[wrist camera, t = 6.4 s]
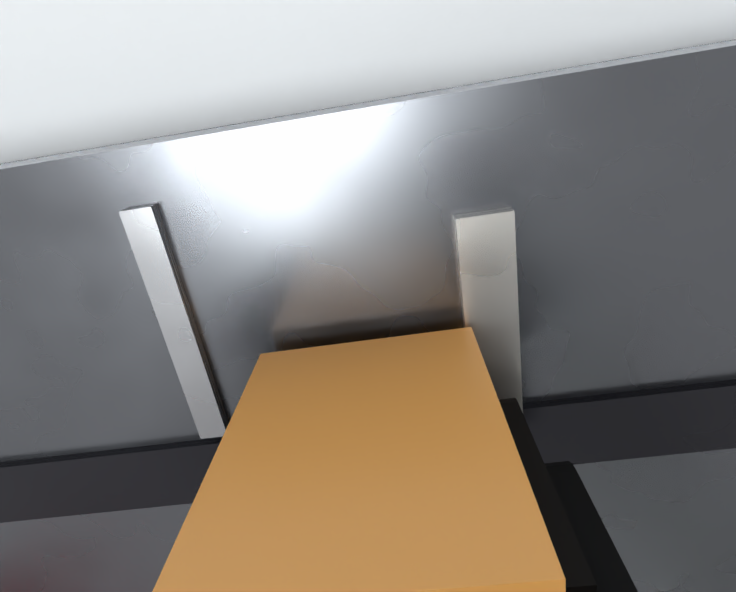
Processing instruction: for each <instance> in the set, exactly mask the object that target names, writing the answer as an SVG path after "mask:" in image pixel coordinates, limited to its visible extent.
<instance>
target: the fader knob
mask: <svg viewBox="0 0 736 592" xmlns="http://www.w3.org/2000/svg"><path fill="white" fill-rule="evenodd" d="M152 592H566V579H565V576H564V573H563V571H562V568H561V565H560V563H559V560H558V557H557V555H556V552H555V549H554V547H553V544H552V541H551V539H550V536H549V533H548V531H547V528H546V525H545V523H544V520H543V517H542V515H541V512H540V509H539V507H538V504H537V501H536V498H535V496H534V493H533V490H532V488H531V485H530V482H529V480H528V477H527V474H526V472H525V469H524V466H523V464H522V461H521V458H520V456H519V453H518V450H517V448H516V445H515V442H514V440H513V437H512V434H511V432H510V429H509V426H508V424H507V421H506V418H505V415H504V413H503V410H502V407H501V405H500V402H499V399H498V397H497V394H496V391H495V389H494V386H493V383H492V381H491V378H490V375H489V373H488V370H487V367H486V365H485V362H484V359H483V357H482V354H481V351H480V349H479V346H478V343H477V341H476V338H475V335H474V332H473V330H472V327H466V328H459V329H451V330H443V331H435V332H427V333H419V334H411V335H404V336H396V337H388V338H380V339H372V340H364V341H356V342H349V343H341V344H333V345H325V346H317V347H309V348H301V349H294V350H286V351H278V352H270V353H262V354H260V356H259V358H258V360H257V363H256V365H255V367H254V369H253V371H252V374H251V376H250V378H249V380H248V382H247V385H246V387H245V389H244V391H243V393H242V396H241V398H240V400H239V402H238V404H237V407H236V409H235V411H234V413H233V415H232V418H231V420H230V422H229V424H228V426H227V429H226V431H225V433H224V435H223V437H222V440H221V442H220V444H219V446H218V448H217V451H216V453H215V455H214V457H213V459H212V462H211V464H210V466H209V468H208V470H207V472H206V475H205V477H204V479H203V481H202V483H201V486H200V488H199V490H198V492H197V494H196V497H195V499H194V501H193V503H192V505H191V508H190V510H189V512H188V514H187V516H186V519H185V521H184V523H183V525H182V527H181V530H180V532H179V534H178V536H177V538H176V541H175V543H174V545H173V547H172V549H171V552H170V554H169V556H168V558H167V560H166V563H165V565H164V567H163V569H162V571H161V574H160V576H159V578H158V580H157V582H156V585H155V587H154V589H153V591H152Z"/></svg>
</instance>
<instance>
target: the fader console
mask: <svg viewBox="0 0 736 592" xmlns="http://www.w3.org/2000/svg"><path fill="white" fill-rule="evenodd" d="M466 327H472V330H473V332H474V335H475V338H476V341H477V343H478V346H479V349H480V351H481V354H482V357H483V359H484V362H485V365H486V367H487V370H488V373H489V375H490V378H491V381H492V383H493V386H494V389H495V391H496V394H497V397H498V399H507V398H516V399H517V401H518V403H519V406H520V408H521V410H522V413H523V415H524V417H525V420H526V422H527V424H528V427H529V429H530V431H531V433H532V436H533V438H534V440H535V443H536V445H537V447H538V450H539V452H540V454H541V457H542V459H543V461H544V463H553V462H563V461H570V462H571V463H572V464H573V465H574V467H575V469H576V470H577V472H578V474H579V476H580V478H581V480H582V482H583V484H584V486H585V488H586V490H587V492H588V494H589V496H590V498H591V500H592V502H593V504H594V506H595V508H596V510H597V512H598V514H599V516H600V518H601V520H602V522H603V524H604V526H605V527H606V529H607V531H608V533H609V535H610V537H611V539H612V541H613V543H614V545H615V547H616V549H617V551H618V553H619V555H620V557H621V559H622V561H623V563H624V565H625V567H626V569H627V571H628V573H629V575H630V577H631V579H632V581H633V583H634V585H635V587H636V589H637V591H638V592H736V39H735V40H729V41H723V42H717V43H711V44H705V45H699V46H693V47H688V48H682V49H676V50H670V51H664V52H658V53H652V54H646V55H640V56H634V57H629V58H623V59H617V60H611V61H605V62H599V63H593V64H587V65H581V66H576V67H570V68H564V69H558V70H552V71H546V72H540V73H534V74H528V75H522V76H517V77H511V78H505V79H499V80H493V81H487V82H481V83H475V84H469V85H463V86H458V87H452V88H446V89H440V90H434V91H428V92H422V93H416V94H410V95H404V96H399V97H393V98H387V99H381V100H375V101H369V102H363V103H357V104H351V105H345V106H340V107H334V108H328V109H322V110H316V111H310V112H304V113H298V114H292V115H287V116H281V117H275V118H269V119H263V120H257V121H251V122H245V123H239V124H233V125H228V126H222V127H216V128H210V129H204V130H198V131H192V132H186V133H180V134H174V135H169V136H163V137H157V138H151V139H145V140H139V141H133V142H127V143H121V144H115V145H110V146H104V147H98V148H92V149H86V150H80V151H74V152H68V153H62V154H57V155H51V156H45V157H39V158H33V159H27V160H21V161H15V162H9V163H3V164H0V592H152V591H153V589H154V587H155V585H156V582H157V580H158V578H159V576H160V574H161V571H162V569H163V567H164V565H165V563H166V560H167V558H168V556H169V554H170V552H171V549H172V547H173V545H174V543H175V541H176V538H177V536H178V534H179V532H180V530H181V527H182V525H183V523H184V521H185V519H186V516H187V514H188V512H189V510H190V508H191V505H192V503H193V501H194V499H195V497H196V494H197V492H198V490H199V488H200V486H201V483H202V481H203V479H204V477H205V475H206V472H207V470H208V468H209V466H210V464H211V462H212V459H213V457H214V455H215V453H216V451H217V448H218V446H219V444H220V442H221V440H222V437H223V435H224V433H225V431H226V429H227V426H228V424H229V422H230V420H231V418H232V415H233V413H234V411H235V409H236V407H237V404H238V402H239V400H240V398H241V396H242V393H243V391H244V389H245V387H246V385H247V382H248V380H249V378H250V376H251V374H252V371H253V369H254V367H255V365H256V363H257V360H258V358H259V356H260V354H262V353H270V352H278V351H286V350H294V349H301V348H309V347H317V346H325V345H333V344H341V343H349V342H356V341H364V340H372V339H380V338H388V337H396V336H404V335H411V334H419V333H427V332H435V331H443V330H451V329H459V328H466Z"/></svg>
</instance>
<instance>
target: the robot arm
mask: <svg viewBox="0 0 736 592" xmlns="http://www.w3.org/2000/svg"><path fill="white" fill-rule="evenodd" d="M499 402H500V405H501V407H502V410H503V413H504V415H505V418H506V421H507V424H508V426H509V429H510V432H511V434H512V437H513V440H514V442H515V445H516V448H517V450H518V453H519V456H520V458H521V461H522V464H523V466H524V469H525V472H526V474H527V477H528V480H529V482H530V485H531V488H532V490H533V493H534V496H535V498H536V501H537V504H538V507H539V509H540V512H541V515H542V517H543V520H544V523H545V525H546V528H547V531H548V533H549V536H550V539H551V541H552V544H553V547H554V549H555V552H556V555H557V557H558V560H559V563H560V565H561V568H562V571H563V573H564V576H565V579H566V592H638V591H637V589H636V587H635V585H634V583H633V581H632V579H631V577H630V575H629V573H628V571H627V569H626V567H625V565H624V563H623V561H622V559H621V557H620V555H619V553H618V551H617V549H616V547H615V545H614V543H613V541H612V539H611V537H610V535H609V533H608V531H607V529H606V527H605V526H604V524H603V522H602V520H601V518H600V516H599V514H598V512H597V510H596V508H595V506H594V504H593V502H592V500H591V498H590V496H589V494H588V492H587V490H586V488H585V486H584V484H583V482H582V480H581V478H580V476H579V474H578V472H577V470H576V469H575V467H574V465H573V464H572V463H571V462H570V461H563V462H553V463H544V461H543V459H542V457H541V454H540V452H539V450H538V447H537V445H536V443H535V440H534V438H533V436H532V433H531V431H530V429H529V427H528V424H527V422H526V420H525V417H524V415H523V413H522V410H521V408H520V406H519V403H518V401H517V399H516V398H507V399H499Z"/></svg>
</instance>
